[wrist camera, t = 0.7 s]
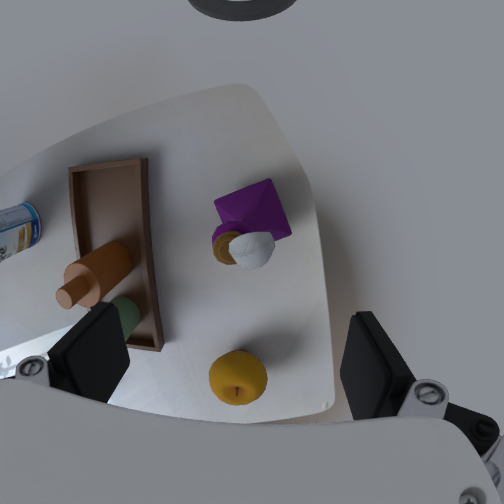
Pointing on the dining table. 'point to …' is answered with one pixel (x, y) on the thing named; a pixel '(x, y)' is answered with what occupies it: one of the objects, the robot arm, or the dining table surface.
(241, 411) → the dining table surface
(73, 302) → the amber bottle
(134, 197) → the tray
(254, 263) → the perfume bottle
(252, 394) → the apple
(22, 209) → the beverage bottle
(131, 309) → the green bottle
